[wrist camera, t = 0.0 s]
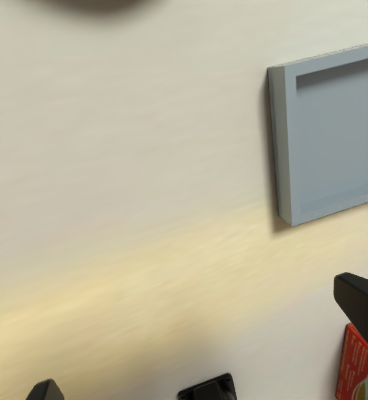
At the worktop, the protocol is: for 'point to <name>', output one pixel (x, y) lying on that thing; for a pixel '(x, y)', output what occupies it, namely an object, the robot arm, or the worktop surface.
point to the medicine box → (353, 367)
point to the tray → (320, 133)
